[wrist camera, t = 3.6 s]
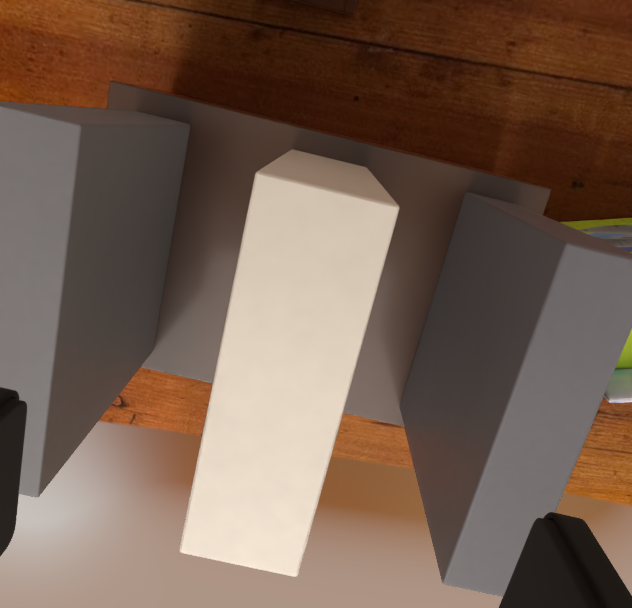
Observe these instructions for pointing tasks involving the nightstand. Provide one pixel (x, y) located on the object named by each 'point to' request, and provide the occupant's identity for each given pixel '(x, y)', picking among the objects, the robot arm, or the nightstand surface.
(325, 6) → the book tray
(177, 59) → the nightstand surface
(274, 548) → the white book
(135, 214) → the grey book
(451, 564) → the grey book
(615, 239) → the box
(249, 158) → the book shelf
